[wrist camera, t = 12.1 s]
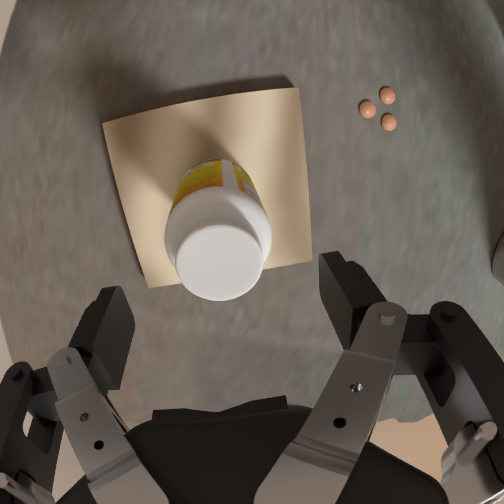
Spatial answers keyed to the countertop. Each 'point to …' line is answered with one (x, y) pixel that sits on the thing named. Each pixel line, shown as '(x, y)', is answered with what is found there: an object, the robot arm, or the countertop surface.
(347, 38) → the countertop surface
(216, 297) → the supplement bottle
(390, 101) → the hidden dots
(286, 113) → the oak board
